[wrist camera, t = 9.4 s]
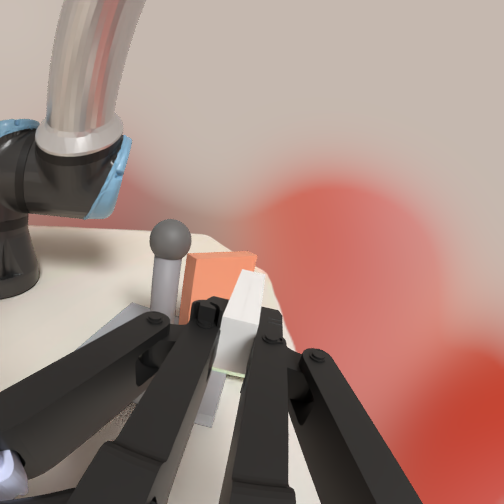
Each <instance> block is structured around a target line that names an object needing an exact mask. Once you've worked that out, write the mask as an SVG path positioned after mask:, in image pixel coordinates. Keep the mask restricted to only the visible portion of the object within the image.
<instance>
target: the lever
mask: <svg viewBox="0 0 504 504" xmlns="http://www.w3.org/2000/svg"><path fill="white" fill-rule="evenodd" d="M190 246H191V234H190V232H189V230H188V228H187V227H186V226H185V225H184V224H183V223H182V222H180V221H178V220H173V219H167V220H164V221H161V222H159V223H158V224H157V225H156V226H155V227H154V228H153V230H152V232H151V235H150V247H151V250H152V251H153V253H154V254H155V257H154V267H153V278H152V290H151V305H150V311H157V312H160V313H163V314H165V315H167V316H168V317H169V318H170V324H174V322H175V312H176V302H177V293H178V285H179V276H180V269H181V261H182V258H183V257H184V256H185V255H186V254H187V253H188V251H189V249H190ZM256 260H257V255H255V254H252V253H250V252H248V251H239V252H213V253H188V254H187V259H186V266H185V274H184V281H183V289H182V297H181V306H180V315H179V325H185V324H187V323H188V322H189V320H190V313H191V306H192V303H193V302H194V301H196V300H207V299H208V298H210V297H212V296H216V297H220V298H224V299H228V300H230V297H231V295H232V292H233V290H234V288H235V285H236V283H237V280H238V278H239V276H240V273H241V271H242V269H244V270H248V271H252V272H254V269H255V264H256Z"/></svg>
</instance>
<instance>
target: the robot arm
mask: <svg viewBox="0 0 504 504" xmlns="http://www.w3.org/2000/svg"><path fill="white" fill-rule="evenodd" d="M145 1H146V0H64V2H63V6H62V9H61V13H60V17H59V21H58V25H57V30H56V34H55V39H54V45H53V51H52V56H51V63H50V72H49V81H48V93H47V115H46V118H45V119H44V120H43V121H42V122H41V124H39V122H37V121H35V120H30V119H19V120H14V119H10V120H3V121H0V299H1V298H7V297H11V296H15V295H18V294H20V293H22V292H25V291H26V290H28V289H30V288H31V287H32V286H33V285H35V283H36V282H37V281H38V278H39V271H38V261H37V258H36V255H35V251H34V248H33V245H32V241H31V238H30V234H29V230H28V213H31V214H40V215H50V216H60V217H69V218H79V219H85V220H86V219H88V218H89V219H104V218H107V217H109V216H110V215H111V214H112V212H113V210H114V207H115V204H116V201H117V197H118V193H119V189H120V186H121V182H122V176H123V174H124V170H125V167H126V164H127V160H128V156H129V152H130V149H131V144H132V139H131V138H129V137H127V136H126V135H122V133H123V122H122V120H121V119H120V117H119V116H118V115H117V114H116V113H115V112H114V110H115V105H116V99H117V95H118V90H119V85H120V81H121V77H122V72H123V68H124V65H125V61H126V57H127V54H128V50H129V47H130V44H131V41H132V37H133V34H134V31H135V28H136V25H137V23H138V20H139V17H140V14H141V12H142V9H143V6H144V4H145ZM264 283H265V274H261V273H257V272H252V271H248V270H244V269H242V271H241V273H240V276H239V278H238V280H237V283H236V285H235V288H234V290H233V292H232V295H231V297H230V300H228V299H224V298H220V297H216V296H212V297H210V298H208V299H207V300H196V301H194V302H193V303H192V306H191V313H190V320H189V322H188V323H187V324H185V325H177V324H170V318H169V317H168V316H167V315H165V314H163V313H160V312H157V311H150V312H145V313H142V314H141V315H139V316H137V317H135V318H133V319H132V320H130V321H128V322H126V323H124V324H123V325H121V326H119V327H117V328H115V329H114V330H112V331H110V332H108V333H106V334H104V335H103V336H101V337H99V338H97V339H95V340H94V341H92V342H90V343H88V344H86V345H85V346H83V347H81V348H79V349H77V350H76V351H74V352H72V353H70V354H68V355H67V356H65V357H63V358H61V359H59V360H58V361H56V362H54V363H52V364H50V365H48V366H47V367H45V368H43V369H41V370H39V371H38V372H36V373H34V374H32V375H30V376H29V377H27V378H25V379H23V380H21V381H20V382H18V383H16V384H14V385H12V386H10V387H9V388H7V389H5V390H3V391H1V392H0V504H167V500H168V496H169V493H170V490H171V487H172V484H173V481H174V479H175V476H176V473H177V470H178V467H179V464H180V461H181V459H182V456H183V453H184V450H185V447H186V444H187V441H188V439H189V436H190V433H191V430H192V427H193V424H194V421H195V418H196V416H197V413H198V410H199V407H200V404H201V401H202V398H203V396H204V393H205V390H206V387H207V384H208V381H209V378H210V375H211V372H212V366H213V367H215V368H219V369H223V370H227V371H232V372H236V373H240V374H245V377H244V381H243V384H242V388H241V391H240V393H241V396H240V401H239V406H238V411H237V416H236V422H235V427H234V432H233V437H232V442H231V447H230V451H229V456H228V461H227V466H226V471H225V476H224V481H223V485H222V490H221V495H220V499H219V504H296V497H295V492H294V489H293V488H291V487H289V485H288V412H289V415H290V418H291V421H292V424H293V427H294V429H295V432H296V435H297V438H298V441H299V444H300V446H301V449H302V452H303V455H304V458H305V461H306V463H307V466H308V469H309V472H310V475H311V477H312V480H313V483H314V486H315V488H316V491H317V494H318V496H319V499H320V502H321V504H423V503H422V502H421V500H420V498H419V497H418V495H417V493H416V492H415V490H414V488H413V487H412V485H411V483H410V482H409V480H408V479H407V477H406V475H405V474H404V472H403V470H402V469H401V467H400V465H399V464H398V462H397V461H396V459H395V458H394V456H393V454H392V452H391V451H390V449H389V448H388V446H387V444H386V443H385V441H384V440H383V438H382V436H381V435H380V433H379V432H378V430H377V428H376V427H375V425H374V424H373V422H372V421H371V419H370V417H369V416H368V414H367V412H366V411H365V409H364V408H363V406H362V404H361V403H360V401H359V400H358V398H357V396H356V395H355V393H354V392H353V390H352V389H351V387H350V385H349V384H348V382H347V381H346V379H345V378H344V376H343V375H342V373H341V371H340V370H339V368H338V367H337V365H336V364H335V362H334V360H333V359H332V357H331V356H330V355H329V354H328V353H326V352H324V351H323V350H320V349H314V348H311V349H306V350H304V352H303V353H302V354H300V353H297V352H295V351H293V350H291V349H289V348H288V347H287V346H286V341H285V339H284V338H283V330H282V315H281V313H280V312H279V311H278V310H274V309H270V308H265V307H261V305H262V298H263V290H264ZM213 363H214V364H213ZM145 390H146V391H145ZM144 391H145V392H144ZM143 392H144V394H143V396H142V397H141V399H140V401H139V402H138V404H137V406H136V407H135V409H134V410H133V412H132V414H131V415H130V417H129V419H128V420H127V422H126V424H125V425H124V427H123V429H122V430H121V432H120V434H119V435H118V437H117V438H116V440H115V441H107V442H105V443H104V444H103V445H102V446H101V448H100V449H99V451H98V452H97V454H96V455H95V457H94V459H93V460H92V462H91V464H90V465H89V467H88V468H87V470H86V472H85V473H84V475H83V477H82V478H81V480H80V482H79V483H78V485H77V487H76V488H71V489H67V490H63V491H59V492H54V493H50V494H45V495H40V496H34V497H28V498H21V499H14V498H15V497H16V496H18V495H26V494H27V493H28V479H32V478H35V477H37V476H39V475H41V474H43V473H45V472H47V471H48V470H50V469H51V468H53V467H54V466H55V465H57V464H58V463H59V462H61V461H62V460H63V459H64V458H66V457H67V456H68V455H69V454H71V453H72V452H73V451H74V450H75V449H77V448H78V447H79V446H80V445H82V444H83V443H84V442H85V441H86V440H88V439H89V438H90V437H91V436H93V435H94V434H95V433H96V432H97V431H99V430H100V429H101V428H102V427H103V426H104V425H106V424H107V423H108V422H109V421H110V420H112V419H113V418H114V417H115V416H116V415H117V414H119V413H120V412H121V411H122V410H123V409H124V408H126V407H127V406H128V405H129V404H130V403H131V402H132V401H134V400H135V399H136V398H137V397H138V396H139V395H140V394H142V393H143Z"/></svg>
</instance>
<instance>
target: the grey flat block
mask: <svg viewBox="0 0 504 504" xmlns="http://www.w3.org/2000/svg"><path fill="white" fill-rule="evenodd" d="M145 312H150V308H148V307H144V306H141V305H138V304H135V303H131V304H130V305H128V306H127V307H126V308H125V309H124V310H122V311H121V312H120V313H119V314H118V315H116V316H115V317H114V318H113V319H112V320H110V321H109V322H108V323H107V324H106V325H104V326H103V327H102V328H101V329H100V330H98V331H97V332H96V333H95V334H94V335H93V336H91V337H90V338H89V339H88V340H87V341H85V342H84V343H83V344H82V345H81V346H80V347H79V348H81V347H83V346H85V345H86V344H88V343H90V342H92V341H94V340H95V339H97V338H99V337H101V336H103V335H104V334H106V333H108V332H110V331H112V330H114V329H115V328H117V327H119V326H121V325H123V324H124V323H126V322H128V321H130V320H132V319H133V318H135V317H137V316H139V315H141V314H142V313H145ZM174 324H177V325H179V317H177V316H175V322H174ZM79 348H77V349H79ZM77 349H76V350H77ZM76 350H75V351H76ZM213 364H214V363H213ZM227 374H229V375H234V376H238V377H243V378H244V377H245V374H240V373H236V372H232V371H227V370H223V369H219V368H215V367H213V366H212V372H211V375H210V378H209V381H208V384H207V387H206V390H205V393H204V396H203V398H202V401H201V404H200V407H199V410H198V413H197V416H196V418H195V421H194V423H196V424H200V425H204V426H207V427H211V428H212V424H213V421H214V417H215V414H216V410H217V407H218V403H219V400H220V396H221V393H222V389H223V386H224V382H225V379H226V375H227ZM145 391H146V390H145ZM145 391H144V392H145ZM144 392H143V393H142V394H140V395H139V396H138V397H137V398H136V399H135V400H134V401H132V402H134V403H137V404H138V402H139V401H140V399H141V397H142V396H143V394H144Z"/></svg>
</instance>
